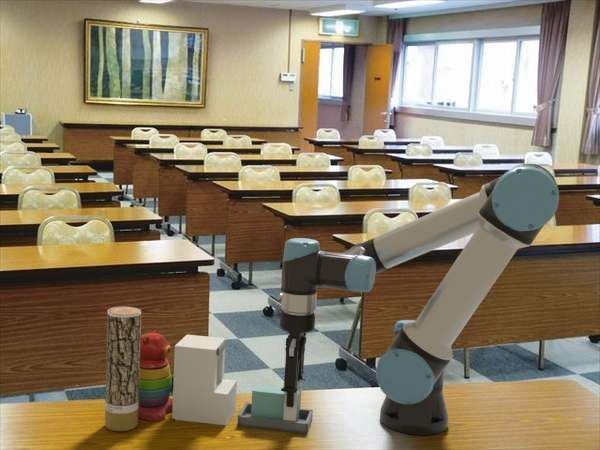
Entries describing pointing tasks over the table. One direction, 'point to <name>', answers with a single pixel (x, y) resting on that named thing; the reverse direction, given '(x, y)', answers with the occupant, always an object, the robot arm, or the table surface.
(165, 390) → the stacking bear
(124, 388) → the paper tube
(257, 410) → the teal block
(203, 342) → the dispenser
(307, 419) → the tray
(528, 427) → the table surface
